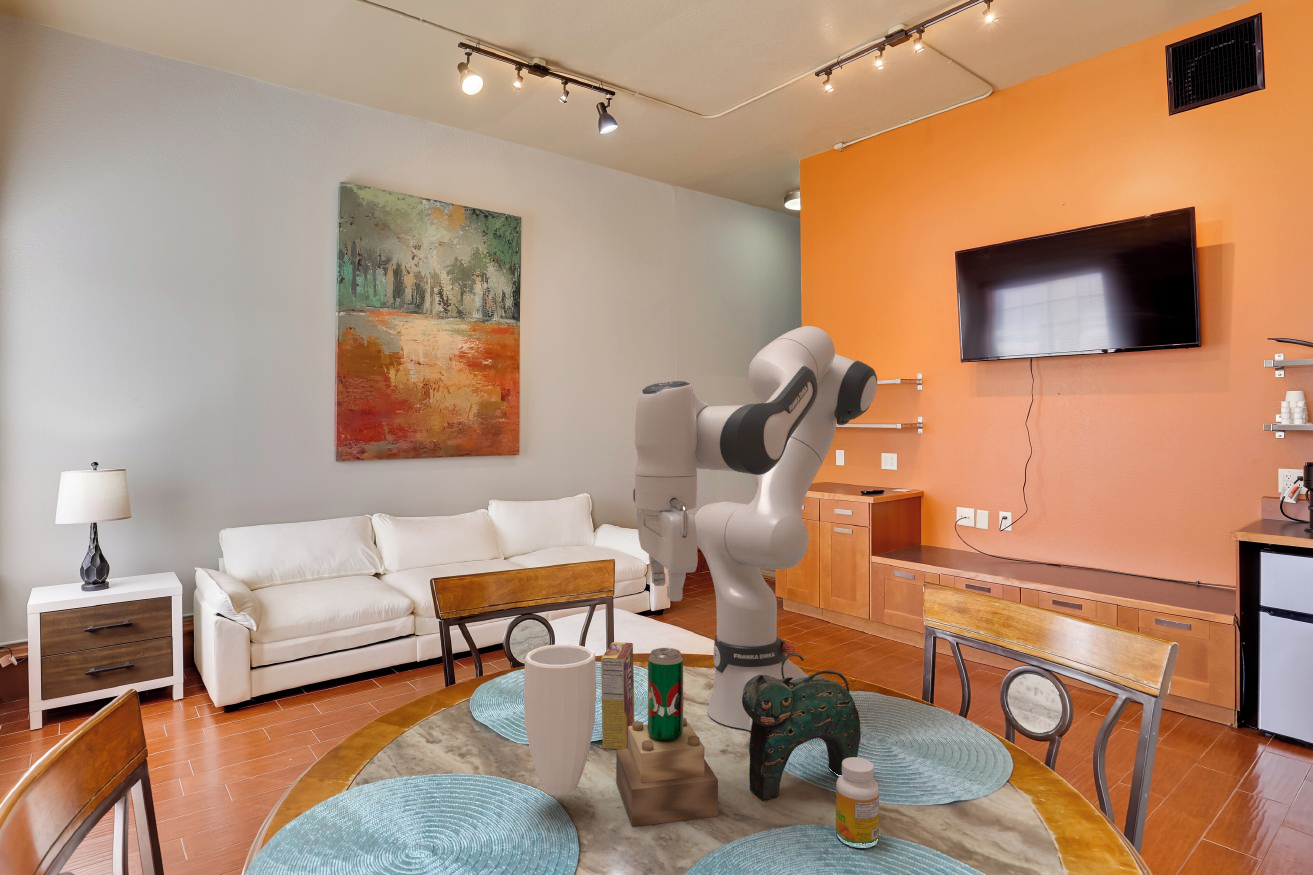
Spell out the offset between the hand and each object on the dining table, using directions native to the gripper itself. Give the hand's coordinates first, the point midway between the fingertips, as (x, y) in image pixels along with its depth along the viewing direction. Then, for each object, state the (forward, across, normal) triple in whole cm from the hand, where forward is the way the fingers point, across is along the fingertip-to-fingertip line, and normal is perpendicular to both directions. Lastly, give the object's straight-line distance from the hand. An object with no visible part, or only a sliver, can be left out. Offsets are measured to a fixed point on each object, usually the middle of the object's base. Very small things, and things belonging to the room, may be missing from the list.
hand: (666, 592), depth 102 cm
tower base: (+30, 0, 0) cm, 30 cm away
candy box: (+30, +21, +3) cm, 37 cm away
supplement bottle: (+30, -15, -22) cm, 40 cm away
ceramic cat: (+30, 0, -21) cm, 37 cm away
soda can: (+21, 0, 0) cm, 21 cm away
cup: (+30, +1, +15) cm, 33 cm away
